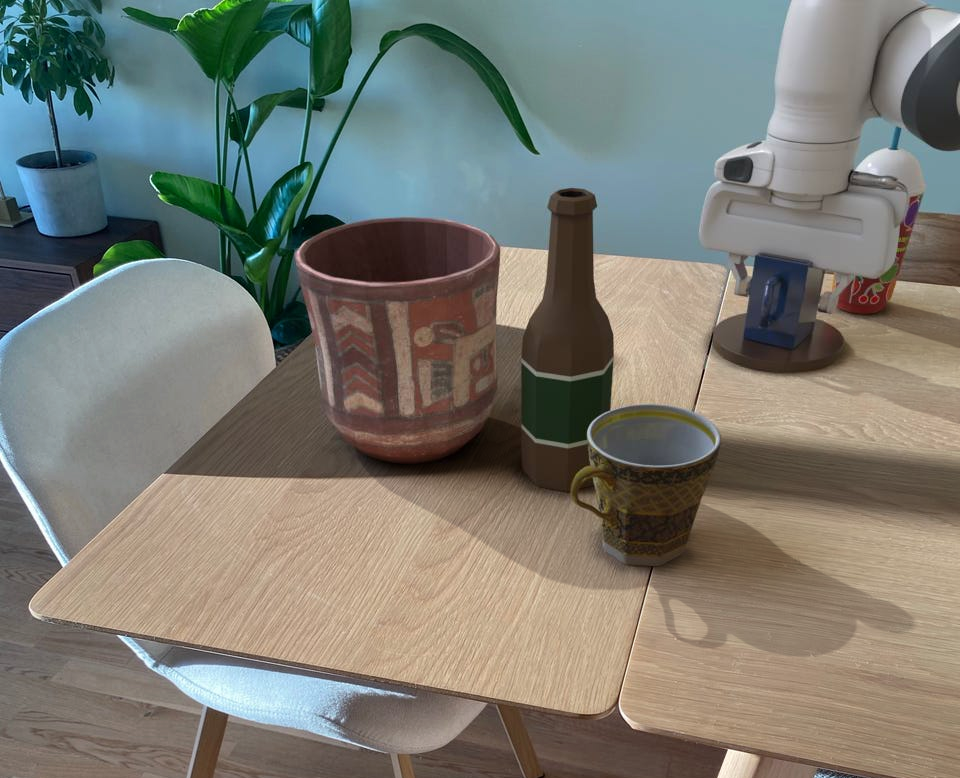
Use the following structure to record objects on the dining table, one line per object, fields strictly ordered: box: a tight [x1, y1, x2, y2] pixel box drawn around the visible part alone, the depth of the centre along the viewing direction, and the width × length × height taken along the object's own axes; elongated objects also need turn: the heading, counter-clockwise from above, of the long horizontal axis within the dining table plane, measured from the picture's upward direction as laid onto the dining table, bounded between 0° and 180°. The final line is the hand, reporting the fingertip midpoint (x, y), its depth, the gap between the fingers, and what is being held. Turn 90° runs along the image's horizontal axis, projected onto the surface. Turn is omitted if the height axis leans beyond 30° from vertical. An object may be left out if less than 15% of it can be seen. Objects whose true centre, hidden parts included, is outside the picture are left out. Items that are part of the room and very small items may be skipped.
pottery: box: [294, 216, 501, 465], centre depth 89 cm, size 18×18×18 cm
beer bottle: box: [520, 187, 615, 493], centre depth 81 cm, size 8×8×24 cm
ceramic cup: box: [570, 403, 722, 567], centre depth 76 cm, size 13×10×10 cm
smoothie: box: [831, 126, 927, 315], centre depth 110 cm, size 8×8×20 cm
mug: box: [743, 252, 826, 350], centre depth 104 cm, size 8×6×9 cm
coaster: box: [712, 312, 845, 374], centre depth 108 cm, size 14×14×1 cm
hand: (783, 302), depth 105 cm, fingers open, 8 cm apart
